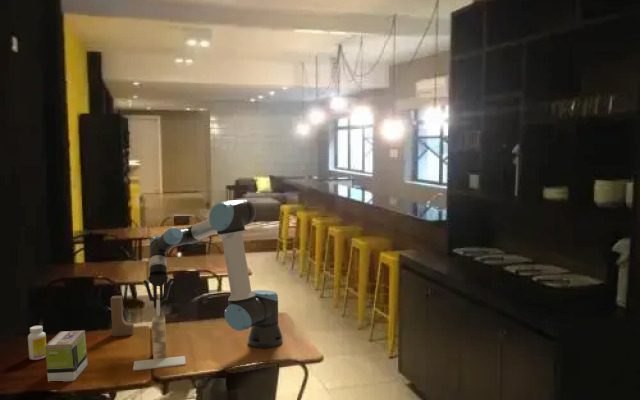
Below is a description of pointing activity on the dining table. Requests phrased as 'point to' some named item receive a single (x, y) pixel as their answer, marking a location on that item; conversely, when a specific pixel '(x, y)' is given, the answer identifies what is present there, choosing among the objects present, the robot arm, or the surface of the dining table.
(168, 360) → the mat
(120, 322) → the wooden block
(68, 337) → the tea box
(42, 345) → the supplement bottle
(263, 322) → the robot arm
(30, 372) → the dining table surface
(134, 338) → the dining table surface
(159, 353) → the block
